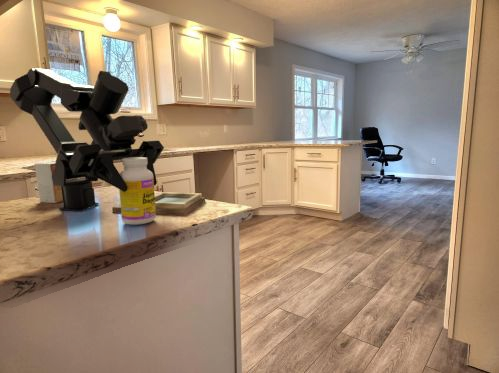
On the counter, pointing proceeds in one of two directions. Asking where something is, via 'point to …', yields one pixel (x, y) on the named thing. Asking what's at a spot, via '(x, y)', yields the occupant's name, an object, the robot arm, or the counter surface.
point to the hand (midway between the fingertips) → (141, 187)
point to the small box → (47, 183)
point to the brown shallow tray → (173, 203)
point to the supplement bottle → (137, 192)
